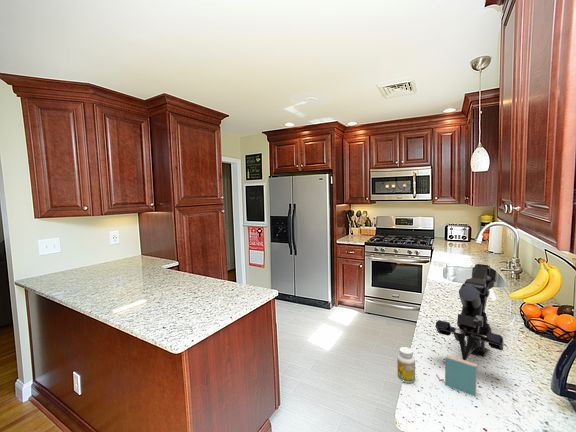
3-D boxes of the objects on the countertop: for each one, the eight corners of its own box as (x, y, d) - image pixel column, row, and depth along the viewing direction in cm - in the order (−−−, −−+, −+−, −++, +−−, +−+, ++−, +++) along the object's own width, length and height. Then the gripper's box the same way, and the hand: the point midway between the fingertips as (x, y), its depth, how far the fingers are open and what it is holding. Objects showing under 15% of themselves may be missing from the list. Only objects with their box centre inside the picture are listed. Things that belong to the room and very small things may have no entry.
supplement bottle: (418, 383, 89) (418, 354, 89) (401, 383, 89) (401, 355, 89) (410, 372, 95) (410, 345, 94) (394, 373, 95) (394, 345, 94)
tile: (446, 381, 90) (446, 354, 89) (476, 392, 84) (476, 364, 84) (445, 384, 88) (445, 357, 88) (475, 396, 83) (475, 367, 82)
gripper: (437, 297, 99) (427, 340, 91) (503, 310, 86) (499, 361, 79) (442, 312, 105) (434, 353, 98) (505, 326, 93) (501, 374, 85)
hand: (464, 359), depth 90 cm, fingers closed
